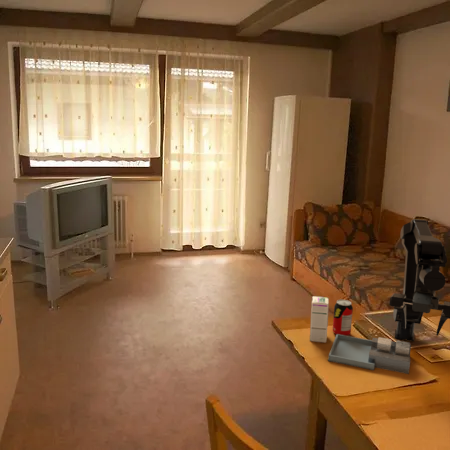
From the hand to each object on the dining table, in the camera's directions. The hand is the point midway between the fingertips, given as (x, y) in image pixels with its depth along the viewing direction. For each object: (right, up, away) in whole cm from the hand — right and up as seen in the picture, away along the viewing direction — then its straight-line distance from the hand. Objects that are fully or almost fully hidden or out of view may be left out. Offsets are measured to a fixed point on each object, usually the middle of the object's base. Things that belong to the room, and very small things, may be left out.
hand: (420, 331), depth 145 cm
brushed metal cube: (-8, -8, +9) cm, 15 cm away
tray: (-17, -10, +12) cm, 23 cm away
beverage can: (-18, -7, +26) cm, 32 cm away
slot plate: (-7, -11, +8) cm, 15 cm away
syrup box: (-27, -7, +22) cm, 36 cm away
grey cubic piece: (-3, -9, +7) cm, 12 cm away
